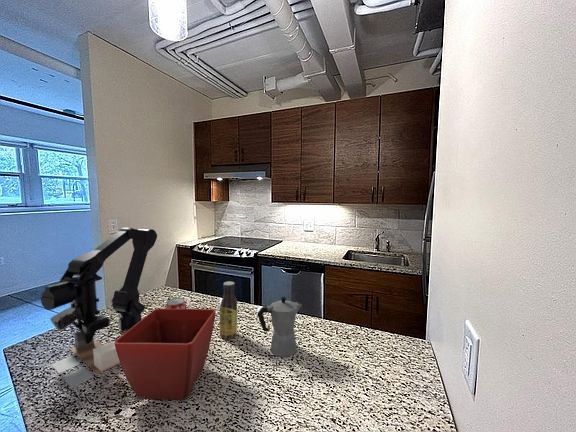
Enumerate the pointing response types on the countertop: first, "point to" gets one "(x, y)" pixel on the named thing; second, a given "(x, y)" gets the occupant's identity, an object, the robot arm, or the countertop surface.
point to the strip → (86, 350)
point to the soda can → (176, 303)
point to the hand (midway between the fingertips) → (88, 342)
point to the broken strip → (75, 376)
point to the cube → (105, 356)
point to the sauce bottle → (228, 312)
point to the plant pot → (166, 352)
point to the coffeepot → (281, 326)
